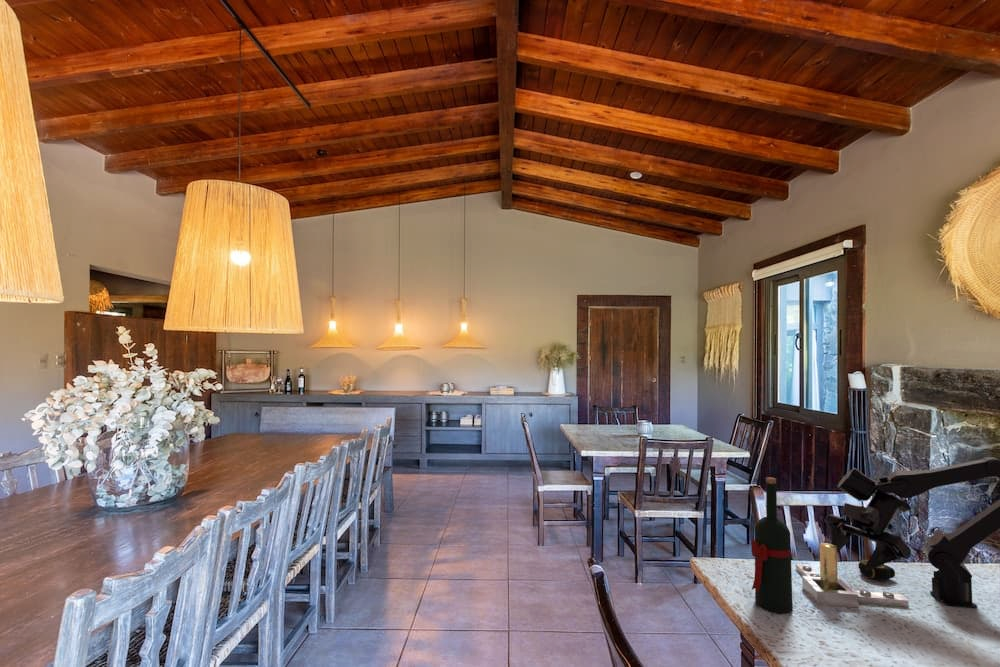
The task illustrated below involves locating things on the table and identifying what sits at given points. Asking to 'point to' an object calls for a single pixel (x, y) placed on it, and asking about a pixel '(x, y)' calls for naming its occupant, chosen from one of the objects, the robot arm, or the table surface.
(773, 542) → the wine bottle
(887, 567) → the tape measure
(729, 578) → the table surface
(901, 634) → the table surface
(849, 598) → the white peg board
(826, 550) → the gold metal cylinder
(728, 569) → the table surface
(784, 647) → the table surface
